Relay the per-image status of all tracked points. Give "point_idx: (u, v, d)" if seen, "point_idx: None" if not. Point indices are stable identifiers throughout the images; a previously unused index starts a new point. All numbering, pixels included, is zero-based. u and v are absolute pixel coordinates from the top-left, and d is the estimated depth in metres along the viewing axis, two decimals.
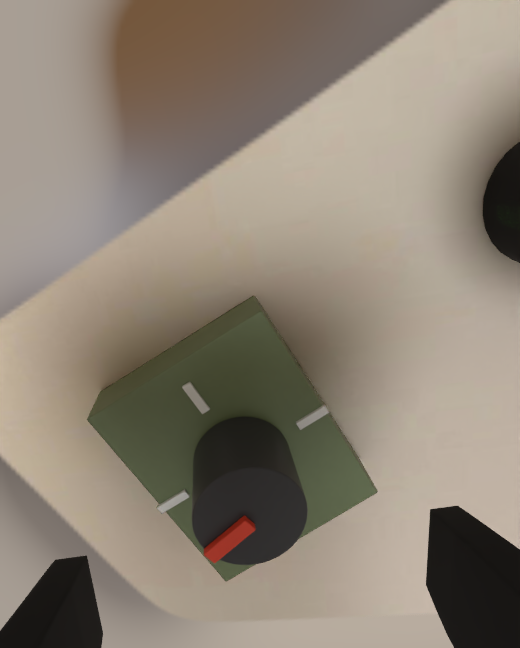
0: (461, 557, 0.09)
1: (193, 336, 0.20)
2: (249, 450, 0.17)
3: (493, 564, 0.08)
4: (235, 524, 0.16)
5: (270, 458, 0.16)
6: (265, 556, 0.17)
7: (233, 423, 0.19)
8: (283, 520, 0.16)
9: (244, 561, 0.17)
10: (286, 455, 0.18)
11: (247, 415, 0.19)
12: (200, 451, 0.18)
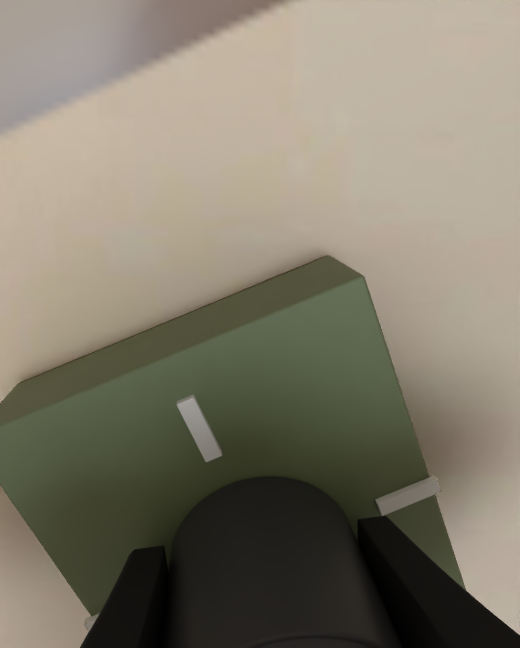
0: (379, 569, 0.09)
1: (208, 309, 0.11)
2: (310, 573, 0.07)
3: (404, 577, 0.08)
4: None
5: (357, 602, 0.07)
6: None
7: (265, 491, 0.09)
8: None
9: None
10: (373, 581, 0.08)
11: (290, 475, 0.10)
12: (192, 540, 0.09)
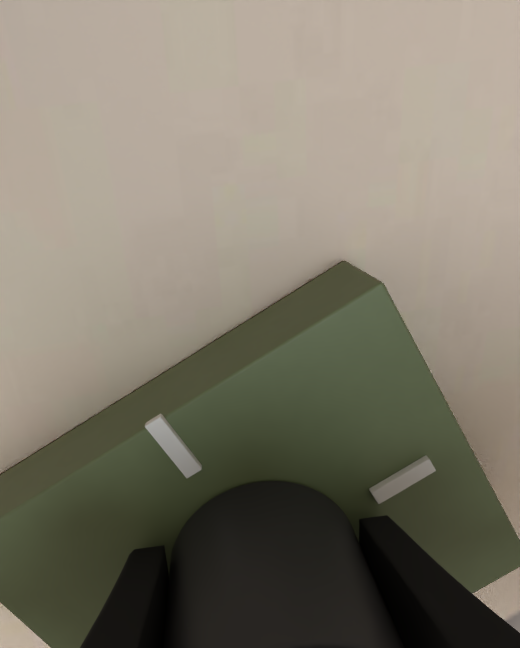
0: (381, 569, 0.09)
1: None
2: (315, 581, 0.07)
3: (406, 577, 0.08)
4: None
5: (363, 611, 0.07)
6: None
7: (269, 495, 0.09)
8: None
9: None
10: (377, 589, 0.08)
11: None
12: (194, 545, 0.09)
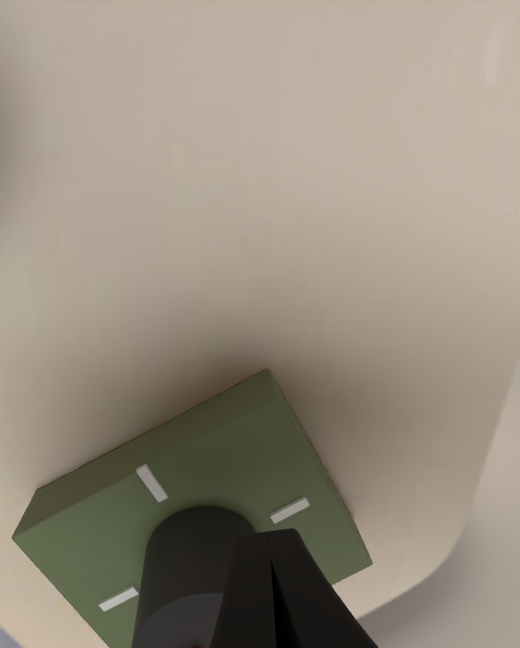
0: (274, 584, 0.08)
1: None
2: (221, 564, 0.14)
3: (288, 594, 0.08)
4: None
5: None
6: None
7: (206, 515, 0.16)
8: None
9: None
10: None
11: None
12: (160, 542, 0.15)
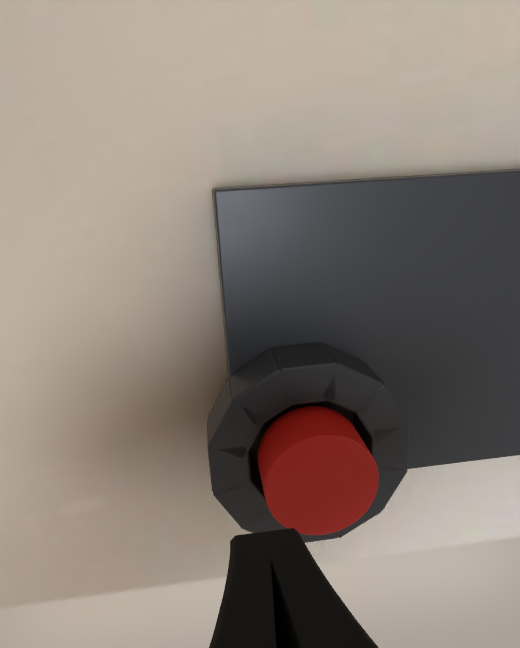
0: (274, 584, 0.08)
1: None
2: None
3: (289, 594, 0.08)
4: None
5: None
6: None
7: None
8: None
9: None
10: None
11: None
12: None
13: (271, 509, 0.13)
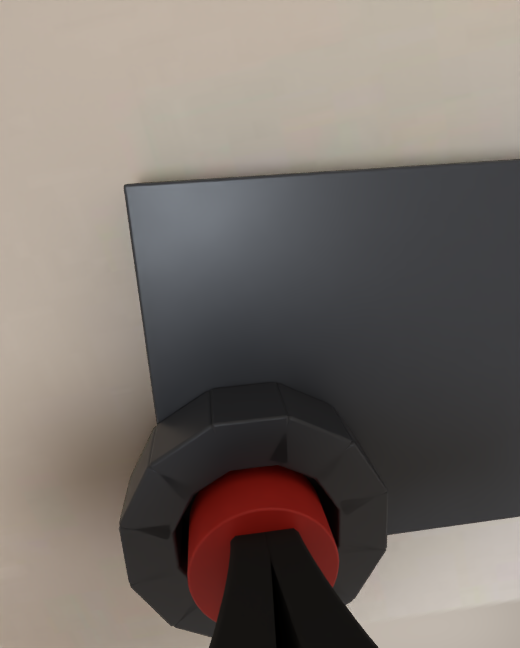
0: (274, 584, 0.08)
1: None
2: None
3: (288, 594, 0.08)
4: None
5: None
6: None
7: None
8: None
9: None
10: None
11: None
12: None
13: (197, 602, 0.10)
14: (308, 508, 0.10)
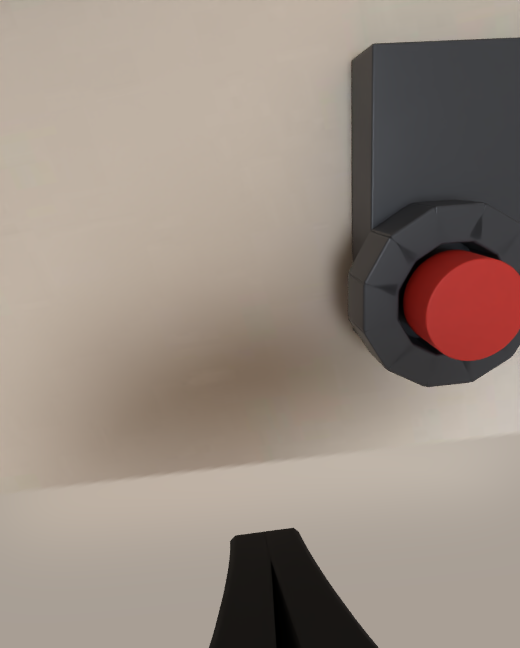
0: (274, 584, 0.08)
1: None
2: None
3: (289, 594, 0.08)
4: None
5: None
6: None
7: None
8: None
9: None
10: None
11: None
12: None
13: (430, 332, 0.14)
14: None
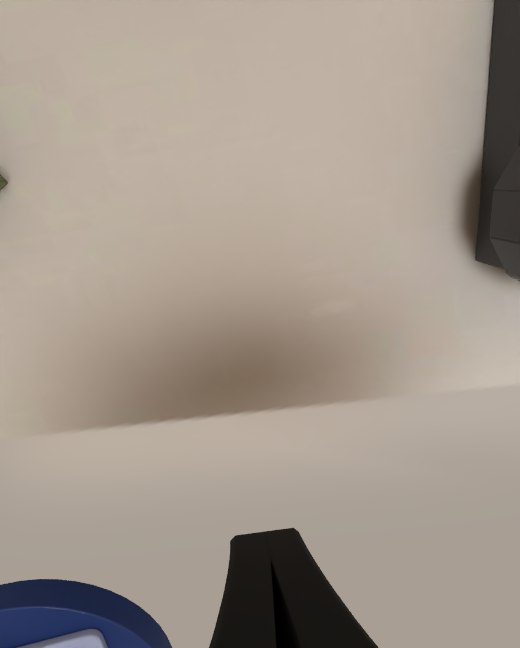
0: (274, 584, 0.08)
1: None
2: None
3: (289, 594, 0.08)
4: None
5: None
6: None
7: None
8: None
9: None
10: None
11: None
12: None
13: None
14: None
